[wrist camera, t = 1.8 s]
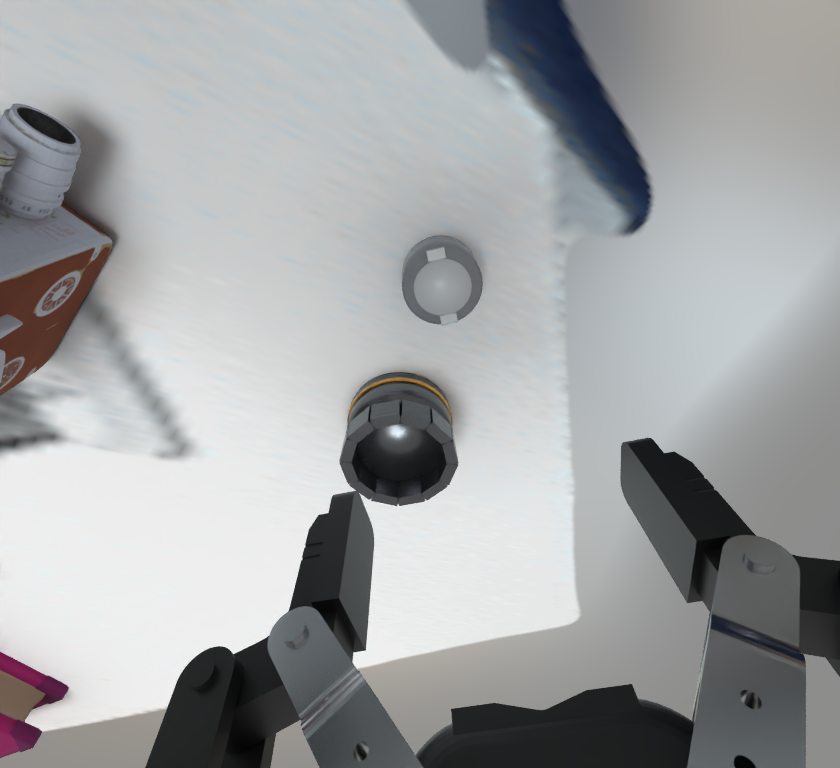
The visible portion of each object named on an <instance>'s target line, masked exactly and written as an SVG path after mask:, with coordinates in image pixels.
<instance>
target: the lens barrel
mask: <svg viewBox="0 0 840 768" xmlns="http://www.w3.org/2000/svg"><path fill="white" fill-rule="evenodd" d="M340 465H341V468H342V470H343V473H344V475H345V478H346V480H347V482H348V484H349V483H350V486H351V487H352V488H354V489H355V490H356V491H358V492H359V493H360V494H362V495H363V496H365V497H366V498H367V499H371V501H375V502H380V503H385V504H390V505H395V506H397V504H399V506H402V505H408V504H413V503H419V502H424V501H425V499H426V500H429V499H430V498H432V497H433V496H435V495H436V494H437V493H439V492H440V491H442V490H443V489H445V488H446V487H447V485H449V484H450V482H451V479H452V477H453V475H454V473H455V471H456V469H457V466H458V457H457V451H456V446H455V441H454V437H453V430H452V417H451V411H450V408H449V406H448V402H447V400H446V398H445V396H444V394H443V393H442V391H441V390H440V389H439V388H438V387H437V386H436V385H435V384H433V383H432V382H431V381H429V380H427V379H425V378H423V377H421V376H418V375H415V374H410V373H390V374H385V375H381V376H379V377H376V378H374V379H372V380H371V381H369V382H368V383H366V384H365V385H364V386H363V387H362V388H361V389H360V390H359V391H358V392H357V394H356V396H355V397H354V399H353V402H352V404H351V407H350V410H349V414H348V425H347V431H346V435H345V439H344V442H343V446H342V451H341V456H340Z"/></svg>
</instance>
